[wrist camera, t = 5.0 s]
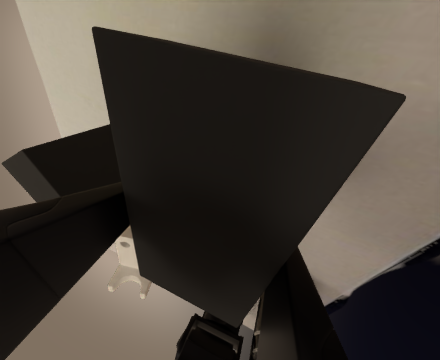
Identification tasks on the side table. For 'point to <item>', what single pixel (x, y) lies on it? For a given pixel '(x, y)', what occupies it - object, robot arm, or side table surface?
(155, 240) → the base pad
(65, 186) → the black pad block
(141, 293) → the bracket
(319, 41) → the side table surface
